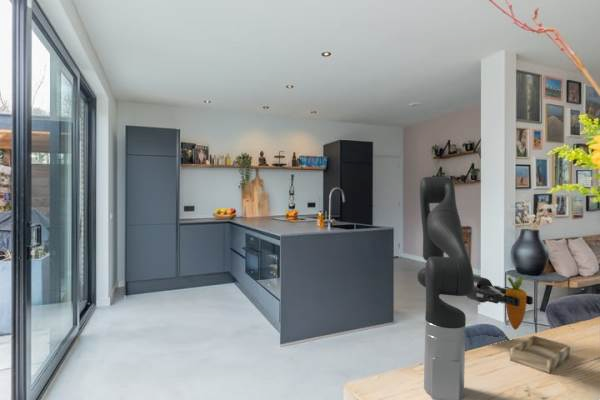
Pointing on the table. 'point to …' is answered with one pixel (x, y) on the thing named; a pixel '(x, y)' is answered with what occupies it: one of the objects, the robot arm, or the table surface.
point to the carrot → (516, 311)
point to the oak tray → (540, 354)
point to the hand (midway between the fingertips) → (525, 301)
